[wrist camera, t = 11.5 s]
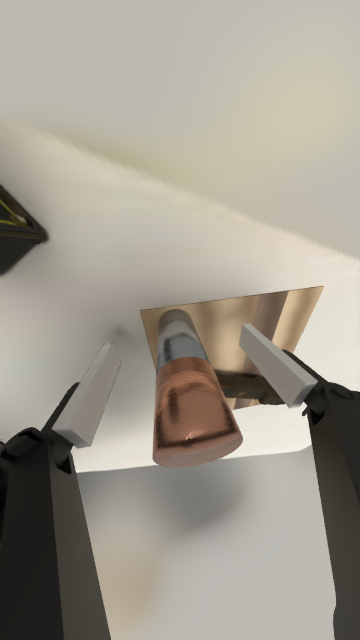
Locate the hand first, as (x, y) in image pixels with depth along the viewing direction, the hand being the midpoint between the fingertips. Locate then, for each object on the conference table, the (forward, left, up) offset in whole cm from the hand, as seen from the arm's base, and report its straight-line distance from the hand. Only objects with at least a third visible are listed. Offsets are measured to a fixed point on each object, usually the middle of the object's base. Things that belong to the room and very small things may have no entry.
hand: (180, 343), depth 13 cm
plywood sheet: (+8, -12, -4) cm, 15 cm away
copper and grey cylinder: (0, 0, -4) cm, 4 cm away
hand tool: (+9, -13, -4) cm, 16 cm away
